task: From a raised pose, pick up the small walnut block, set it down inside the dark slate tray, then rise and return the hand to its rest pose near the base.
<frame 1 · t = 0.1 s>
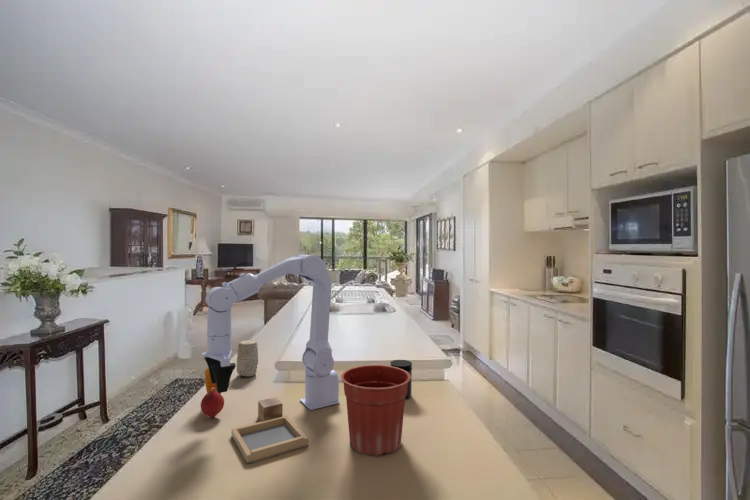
hand: (219, 387, 99), 10 cm above the countertop, fingers open, 7 cm apart
onion: (212, 418, 103), on the countertop
supplement container: (400, 396, 119), on the countertop
slate tray: (269, 440, 91), on the countertop
carrot: (214, 406, 111), on the countertop
flower pot: (375, 443, 91), on the countertop
carving: (247, 375, 137), on the countertop
walnut block: (270, 418, 103), on the countertop
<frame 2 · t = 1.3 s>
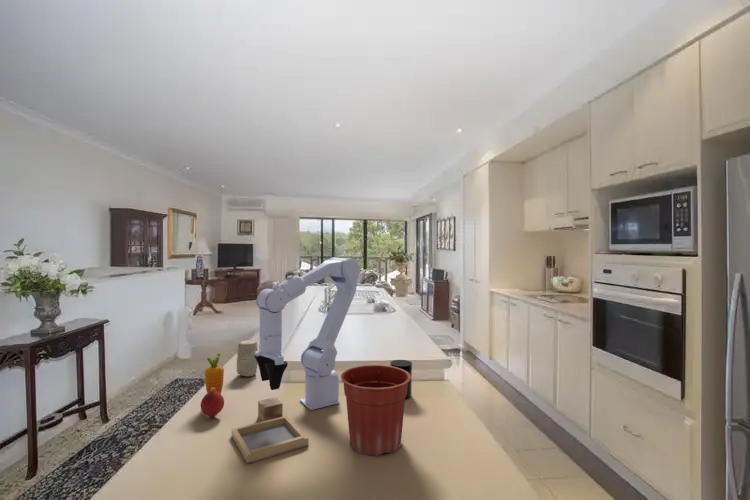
hand: (270, 384, 103), 9 cm above the countertop, fingers open, 7 cm apart
nothing on the countertop moved.
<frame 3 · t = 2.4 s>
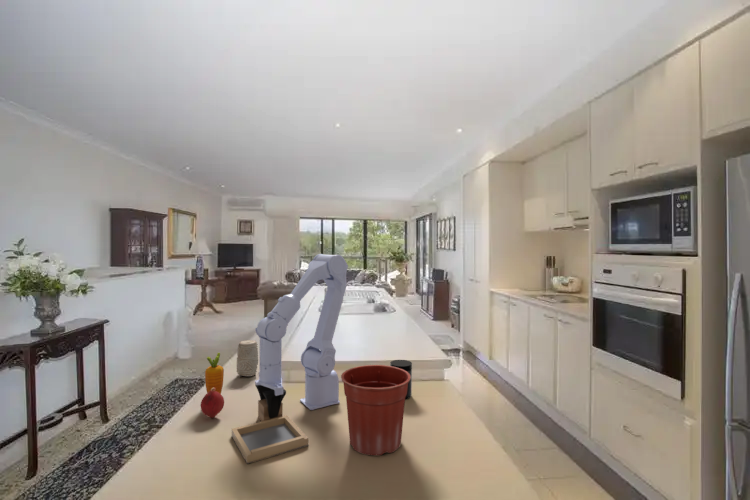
hand: (270, 413, 103), 1 cm above the countertop, fingers closed on walnut block, 5 cm apart
walnut block: (270, 418, 103), on the countertop, touching gripper
everything else where it was.
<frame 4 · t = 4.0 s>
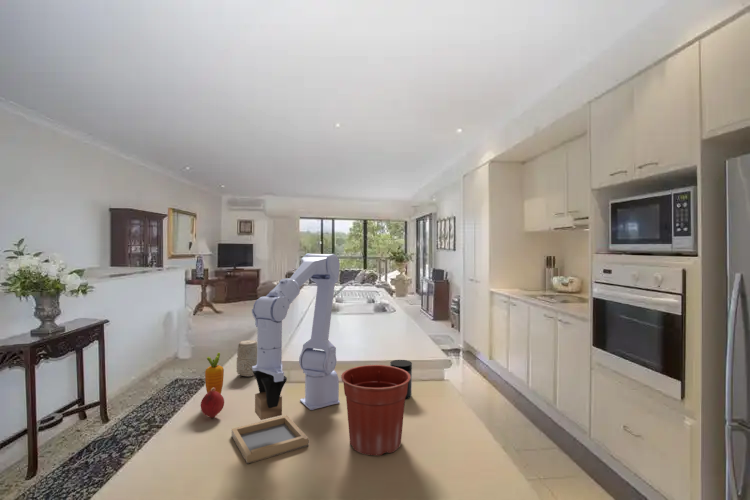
hand: (269, 402, 93), 9 cm above the countertop, fingers closed on walnut block, 5 cm apart
walnut block: (268, 413, 93), point 6 cm above the countertop, touching gripper
everything else where it was.
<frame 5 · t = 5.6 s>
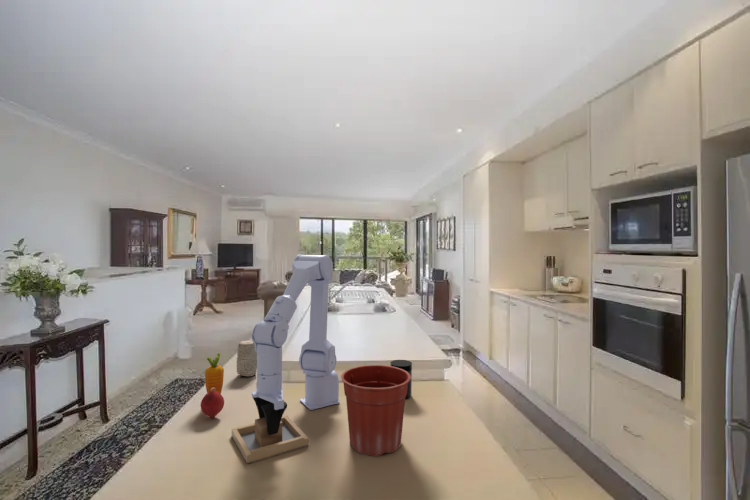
hand: (269, 428, 91), 3 cm above the countertop, fingers closed on walnut block, 5 cm apart
walnut block: (268, 439, 91), resting on slate tray, touching gripper
everything else where it was.
when the fingers open (3 cm above the countertop, at t = 5.7 s): walnut block stays where it is, resting on slate tray.
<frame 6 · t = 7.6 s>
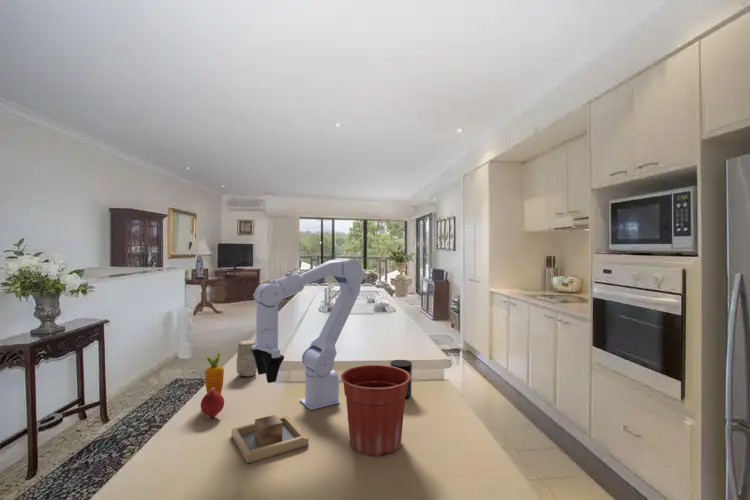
hand: (266, 377, 105), 10 cm above the countertop, fingers open, 7 cm apart
walnut block: (268, 439, 91), resting on slate tray
everything else where it was.
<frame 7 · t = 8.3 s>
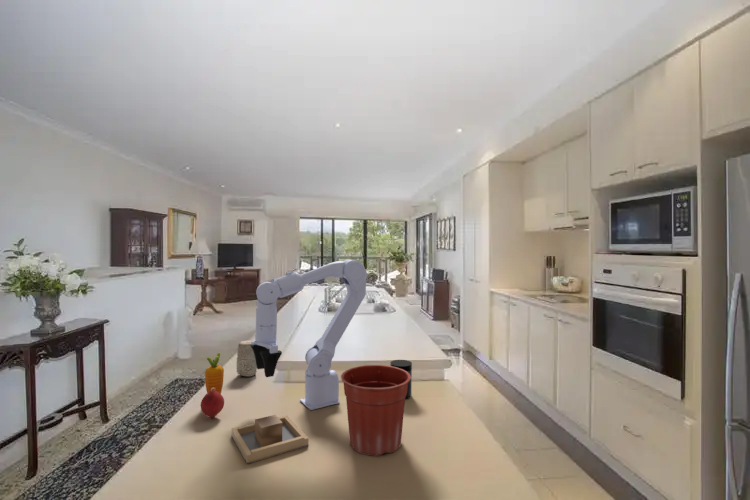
hand: (265, 372, 109), 10 cm above the countertop, fingers open, 7 cm apart
nothing on the countertop moved.
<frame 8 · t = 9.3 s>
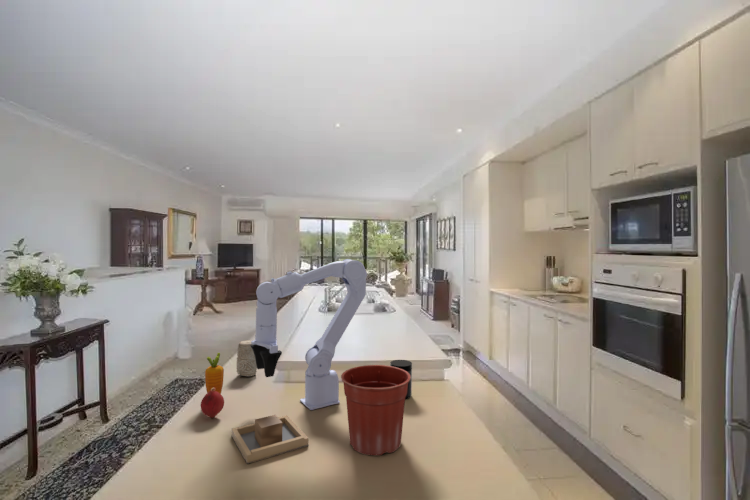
hand: (265, 372, 109), 10 cm above the countertop, fingers open, 7 cm apart
nothing on the countertop moved.
at the end: walnut block inside the target area (0.2 cm from its centre), resting on slate tray; walnut block tilted 0°; the gripper is holding nothing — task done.
